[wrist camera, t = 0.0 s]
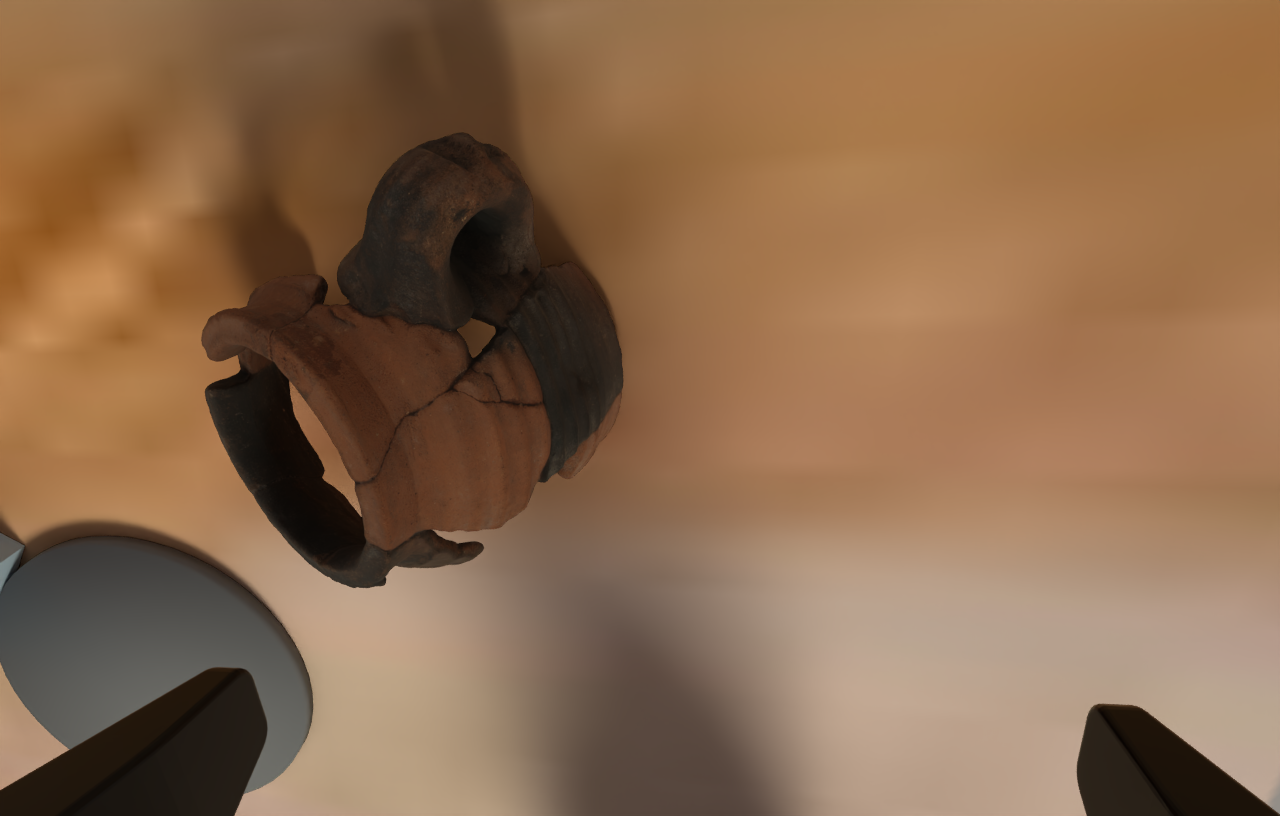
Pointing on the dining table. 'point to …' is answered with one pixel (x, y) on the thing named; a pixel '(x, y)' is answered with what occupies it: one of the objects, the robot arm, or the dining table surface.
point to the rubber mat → (142, 641)
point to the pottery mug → (418, 372)
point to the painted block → (9, 558)
